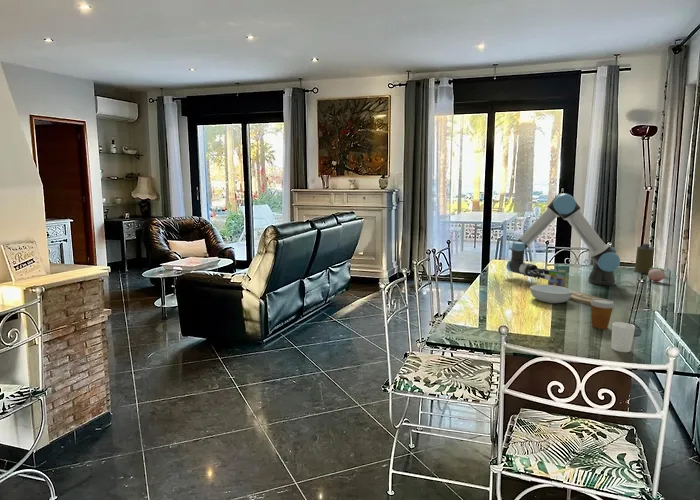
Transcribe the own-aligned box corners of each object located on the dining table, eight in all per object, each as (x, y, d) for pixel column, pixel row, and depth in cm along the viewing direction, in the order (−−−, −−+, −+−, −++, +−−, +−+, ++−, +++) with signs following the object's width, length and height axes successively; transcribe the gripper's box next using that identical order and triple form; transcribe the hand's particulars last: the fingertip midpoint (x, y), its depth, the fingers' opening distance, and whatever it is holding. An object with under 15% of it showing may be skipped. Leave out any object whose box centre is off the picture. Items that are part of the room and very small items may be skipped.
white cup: (611, 344, 204) (613, 320, 202) (633, 348, 200) (636, 324, 198) (608, 350, 198) (610, 325, 196) (630, 354, 193) (634, 329, 192)
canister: (654, 274, 349) (658, 245, 345) (639, 273, 349) (642, 244, 345) (645, 270, 359) (649, 243, 356) (630, 270, 359) (634, 242, 356)
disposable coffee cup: (583, 323, 231) (586, 298, 229) (603, 323, 232) (606, 298, 230) (595, 330, 221) (598, 303, 219) (616, 330, 222) (619, 304, 220)
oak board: (569, 292, 289) (569, 289, 289) (607, 302, 269) (608, 299, 269) (552, 294, 283) (552, 292, 282) (591, 305, 262) (591, 302, 262)
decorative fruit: (648, 282, 321) (650, 267, 319) (646, 280, 328) (648, 265, 326) (665, 284, 317) (667, 268, 315) (662, 281, 325) (665, 266, 323)
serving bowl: (569, 298, 275) (570, 286, 274) (572, 308, 256) (574, 295, 254) (529, 294, 282) (530, 282, 281) (529, 304, 262) (530, 291, 261)
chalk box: (564, 292, 288) (566, 267, 285) (546, 290, 292) (549, 265, 289) (565, 289, 296) (567, 264, 293) (548, 287, 300) (551, 262, 298)
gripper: (542, 274, 317) (571, 281, 298) (513, 277, 305) (542, 285, 286) (543, 262, 315) (572, 268, 297) (514, 265, 303) (543, 272, 285)
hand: (558, 277), depth 292 cm, fingers open, 13 cm apart
